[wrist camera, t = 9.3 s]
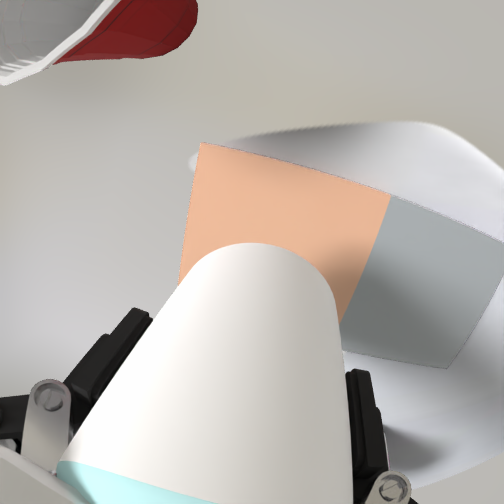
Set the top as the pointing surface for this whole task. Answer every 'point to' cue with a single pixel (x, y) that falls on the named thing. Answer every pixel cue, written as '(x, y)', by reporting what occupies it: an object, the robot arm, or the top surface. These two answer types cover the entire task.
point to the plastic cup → (88, 31)
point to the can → (226, 394)
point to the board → (352, 251)
